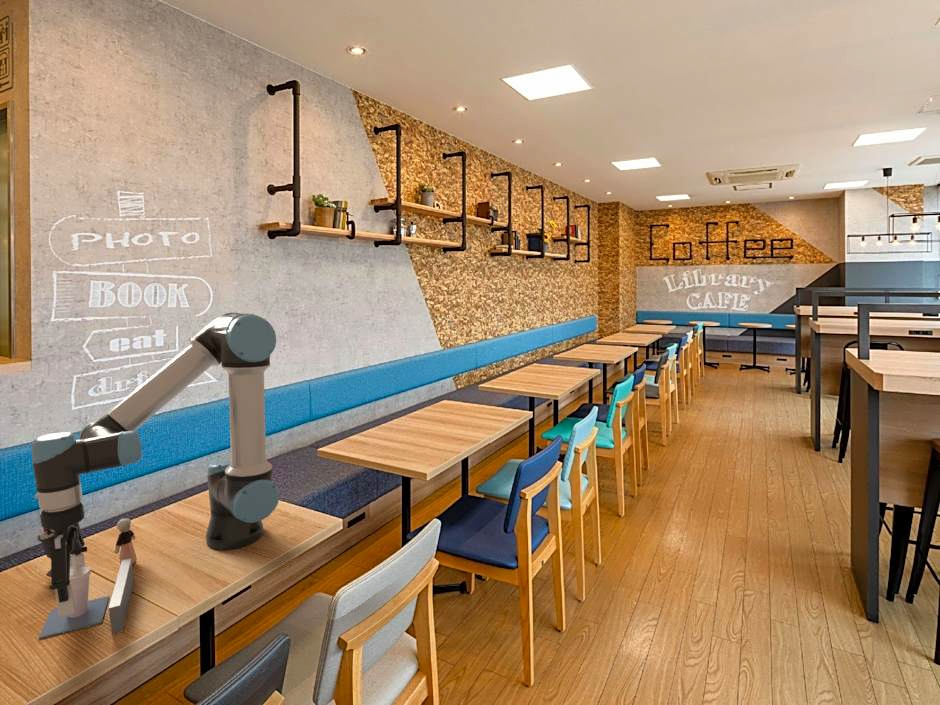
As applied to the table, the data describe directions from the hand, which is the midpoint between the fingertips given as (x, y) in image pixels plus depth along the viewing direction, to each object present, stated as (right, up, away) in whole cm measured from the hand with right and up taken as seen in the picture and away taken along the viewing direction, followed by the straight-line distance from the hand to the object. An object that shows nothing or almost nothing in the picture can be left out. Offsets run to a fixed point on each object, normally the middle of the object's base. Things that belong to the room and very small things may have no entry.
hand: (73, 597), depth 120 cm
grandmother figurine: (-2, -2, +23) cm, 23 cm away
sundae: (-19, -3, +20) cm, 28 cm away
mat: (0, -5, +1) cm, 5 cm away
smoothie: (0, -4, +2) cm, 5 cm away
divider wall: (+8, -4, +5) cm, 10 cm away
